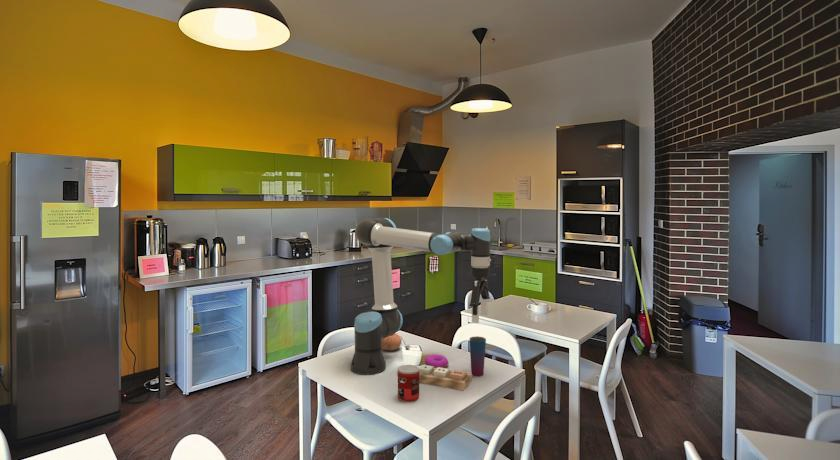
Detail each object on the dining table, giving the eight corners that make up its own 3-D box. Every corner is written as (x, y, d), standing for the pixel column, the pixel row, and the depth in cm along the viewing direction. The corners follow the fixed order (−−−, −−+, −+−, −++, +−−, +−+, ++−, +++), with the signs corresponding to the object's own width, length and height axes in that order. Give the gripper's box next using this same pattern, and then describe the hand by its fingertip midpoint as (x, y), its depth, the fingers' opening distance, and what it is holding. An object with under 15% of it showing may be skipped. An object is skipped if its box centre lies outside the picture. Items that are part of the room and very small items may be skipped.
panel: (411, 381, 180) (411, 373, 180) (421, 372, 189) (421, 365, 189) (463, 390, 171) (463, 382, 171) (471, 381, 180) (471, 373, 180)
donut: (436, 373, 189) (436, 362, 189) (419, 366, 196) (419, 356, 196) (452, 367, 196) (452, 356, 195) (436, 360, 203) (436, 351, 203)
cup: (485, 377, 183) (485, 341, 182) (468, 376, 185) (468, 340, 184) (486, 371, 190) (486, 336, 189) (470, 370, 191) (470, 336, 190)
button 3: (449, 379, 176) (449, 373, 176) (454, 374, 180) (454, 369, 180) (462, 381, 174) (462, 375, 173) (466, 376, 178) (466, 371, 178)
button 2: (433, 376, 179) (433, 370, 178) (438, 372, 183) (438, 366, 183) (445, 378, 176) (445, 372, 176) (449, 374, 181) (449, 368, 181)
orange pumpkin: (401, 352, 213) (401, 336, 213) (378, 353, 213) (378, 336, 213) (401, 345, 224) (401, 330, 224) (380, 345, 224) (380, 330, 224)
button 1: (417, 373, 181) (417, 368, 181) (422, 369, 186) (422, 364, 186) (428, 375, 179) (428, 370, 179) (433, 371, 184) (433, 365, 184)
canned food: (397, 393, 168) (397, 364, 168) (418, 392, 169) (418, 364, 168) (398, 402, 161) (397, 372, 160) (420, 401, 161) (420, 371, 161)
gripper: (481, 271, 168) (480, 327, 169) (496, 263, 191) (495, 312, 192) (462, 270, 171) (461, 325, 172) (479, 262, 193) (478, 310, 195)
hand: (479, 318), depth 182 cm, fingers open, 13 cm apart
